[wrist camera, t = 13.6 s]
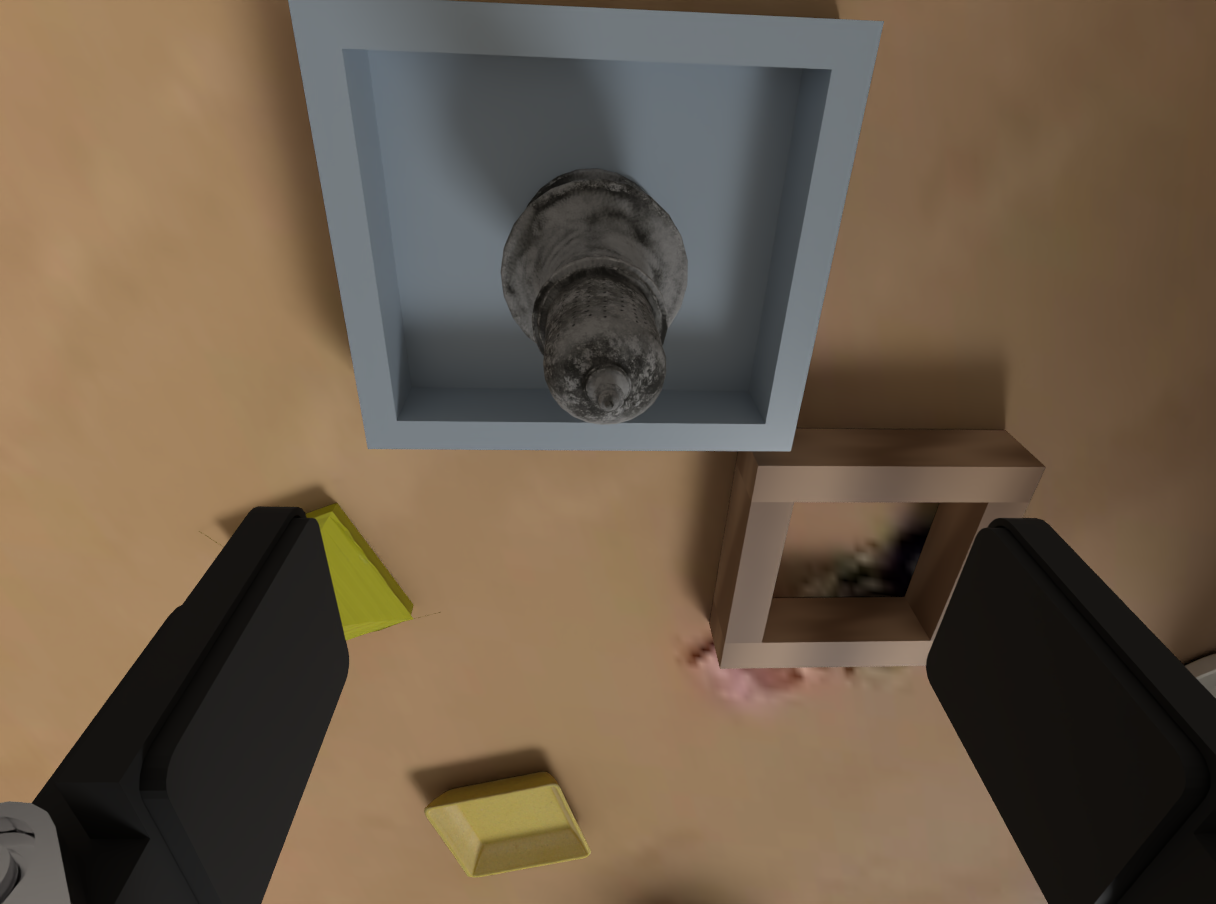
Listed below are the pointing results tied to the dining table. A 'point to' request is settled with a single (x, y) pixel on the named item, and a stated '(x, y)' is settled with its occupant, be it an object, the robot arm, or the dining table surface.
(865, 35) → the tray
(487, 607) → the dining table surface
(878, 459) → the hollow square frame
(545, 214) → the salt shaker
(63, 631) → the dining table surface
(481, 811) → the yellow shallow rimmed piece
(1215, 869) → the robot arm
